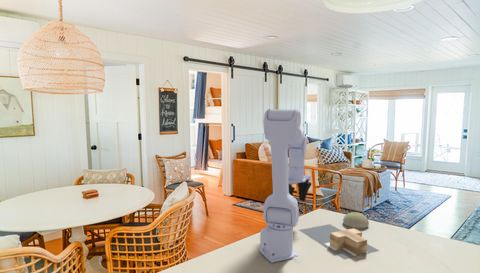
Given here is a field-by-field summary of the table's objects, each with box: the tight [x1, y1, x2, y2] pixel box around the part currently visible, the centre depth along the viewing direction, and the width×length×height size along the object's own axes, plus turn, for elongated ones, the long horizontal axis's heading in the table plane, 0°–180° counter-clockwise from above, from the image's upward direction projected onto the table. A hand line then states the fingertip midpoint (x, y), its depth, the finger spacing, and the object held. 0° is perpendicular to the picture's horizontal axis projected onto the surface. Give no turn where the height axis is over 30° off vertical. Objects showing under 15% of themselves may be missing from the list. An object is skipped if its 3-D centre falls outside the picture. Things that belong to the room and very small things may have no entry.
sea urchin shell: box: [342, 211, 370, 230], centre depth 114 cm, size 9×8×8 cm
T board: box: [299, 224, 380, 260], centre depth 101 cm, size 14×23×1 cm, turn 24°
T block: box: [330, 228, 368, 255], centre depth 95 cm, size 10×8×4 cm
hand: (295, 202), depth 112 cm, fingers open, 7 cm apart
